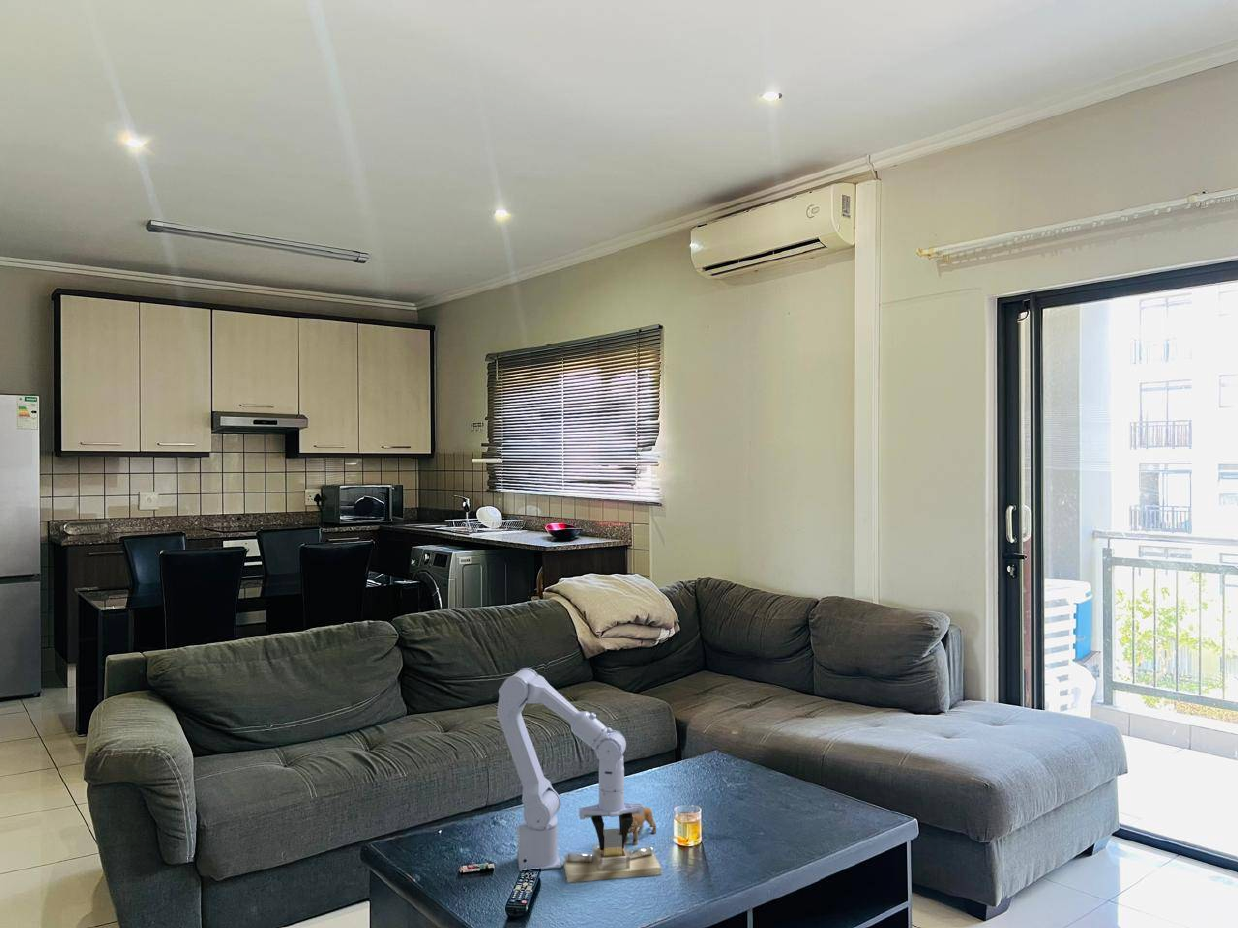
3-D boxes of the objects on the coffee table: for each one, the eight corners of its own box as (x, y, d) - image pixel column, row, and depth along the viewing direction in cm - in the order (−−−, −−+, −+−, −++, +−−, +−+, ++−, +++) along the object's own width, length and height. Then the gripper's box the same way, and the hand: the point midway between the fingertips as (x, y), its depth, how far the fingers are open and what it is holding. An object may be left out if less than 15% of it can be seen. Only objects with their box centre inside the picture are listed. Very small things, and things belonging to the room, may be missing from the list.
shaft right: (628, 860, 200) (628, 852, 200) (625, 857, 201) (625, 849, 201) (655, 855, 203) (655, 847, 203) (651, 852, 204) (651, 844, 204)
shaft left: (594, 860, 200) (594, 852, 200) (593, 863, 198) (593, 855, 198) (564, 859, 201) (564, 851, 201) (563, 862, 199) (563, 854, 199)
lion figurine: (634, 852, 208) (634, 814, 208) (614, 847, 211) (614, 810, 211) (660, 829, 221) (660, 794, 221) (641, 825, 224) (641, 790, 224)
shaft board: (568, 882, 193) (568, 864, 193) (562, 864, 201) (562, 846, 201) (661, 874, 196) (661, 856, 196) (652, 856, 205) (652, 839, 205)
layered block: (604, 858, 196) (604, 836, 197) (601, 851, 200) (601, 829, 200) (621, 857, 197) (621, 835, 197) (618, 849, 201) (618, 828, 201)
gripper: (582, 796, 194) (582, 857, 194) (646, 791, 197) (646, 852, 196) (577, 784, 201) (577, 844, 201) (639, 780, 203) (639, 839, 203)
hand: (611, 847), depth 199 cm, fingers closed on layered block, 4 cm apart
